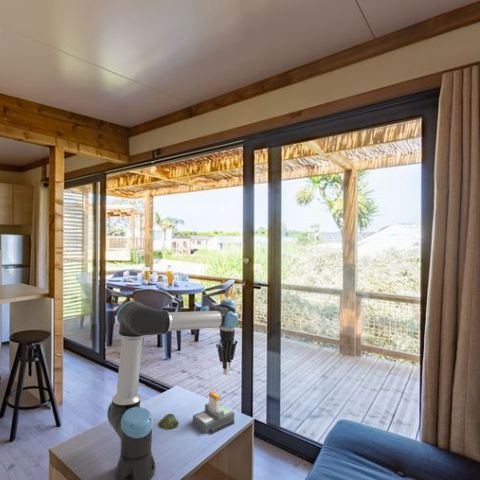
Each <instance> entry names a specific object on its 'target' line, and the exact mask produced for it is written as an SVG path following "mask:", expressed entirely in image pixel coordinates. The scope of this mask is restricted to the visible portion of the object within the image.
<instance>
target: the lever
mask: <svg viewBox="0 0 480 480" xmlns="http://www.w3.org/2000/svg"><path fill="white" fill-rule="evenodd" d="M208 396H209V398H208V403H209V406H208V409H209V410H210V411H212V412H213V413H214V414H216V415H217V412H219V411H220V410H219V409H220V404H221V395H220V394H218V393H216V392H215V391H214V390H213V391H209V392H208Z"/></svg>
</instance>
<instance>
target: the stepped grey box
mask: <svg viewBox="0 0 480 480" xmlns="http://www.w3.org/2000/svg"><path fill="white" fill-rule="evenodd" d="M208 406H209V402H207V403H205V404H204V410H203V411H201V412H198V413H196V414H193V415H192V424H193V425H194V426H196V427H197V428H198V429H199V430H200V431H202V432H203V433H204V434H208V433H210V428H212V427H215V426H217V425H219V424H221V423H223V422H225V421H228V420H230V419H233V420H234V421H235V412H234V411H233V410H231V409H230V408H228V407H226V405H223V404H221V403H220V409H219V410H220V411H219V412H217V415H216V414H214V413H213V412H212V411H210V410H209V409H208Z"/></svg>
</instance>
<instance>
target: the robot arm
mask: <svg viewBox="0 0 480 480" xmlns="http://www.w3.org/2000/svg"><path fill="white" fill-rule="evenodd" d="M116 318H117V319H116V320H117V322H118V324H119V326H118V335H119V337H121V345H120V354H119V365H118V375H117V384H116V393H115V394H114V395H113V396H112V399H111V403H109V405H108V407H107V411H106V415H107V417H106V418H107V420H108V423H109V424H110V426H111V427H112V428H113V430H114V432H115V433H116V434H117V436H118V437H119V439H120V453H119V454H120V455H119V458H118V462H117V464H116V468H115V471H114V477H115V479H116V480H152V478H153V477H154V476H155V473H156V461H155V458H154V455H153V452H152V444H153V425H154V423H153V415H152V413H151V411H150V410H149V409H147V408H146V407H142V406H141V395H140V394H139V393H138V391H139V381H140V373H141V371H140V370H141V360H142V352H143V351H142V350H143V343H144V342H143V341H144V338H145V337H146V336H157V335H158V336H159V335H167V334H168V333H169V332H175V331H188V330H190V331H191V330H200V329H201V330H203V329H215V328H219V329H220V330H219V333H220V334H219V337H220V339H219V343H217V344H215V347H216V348H217V352H218V360H219V362H221V363H222V370H223V375H225V376H229V375H230V368H231V363H232V361H233V360H234V357H235V352H236V347H237V344H238V341H237V340H236V339H235V338H234V337H235V334H236V333H235V329H236V327H237V326H238V324H239V316H238V314H237V313H236V301H235V300H234V299H231V298H223V299H221V301H220V304H213V305H205V306H202V307H200V310H199V311H173V312H171V311H170V312H169V311H168V310H166V309H162V310H161V309H156V308H153V307H150V306H147V305H146V304H143V303H142V302H140V301H136V300H131V301H126V302H124V303H123V304H122V305H120V306H119V308H118V310H117V313H116Z"/></svg>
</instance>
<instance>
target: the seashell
mask: <svg viewBox="0 0 480 480" xmlns="http://www.w3.org/2000/svg"><path fill="white" fill-rule="evenodd" d="M178 427H179V421H178V419H177V418H176V416H175V415H174V414H172V413H168V414H166V415H164V417H163V418H161V420H160V421H158V428H160V429H162V430H174V429H176V428H178Z"/></svg>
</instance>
